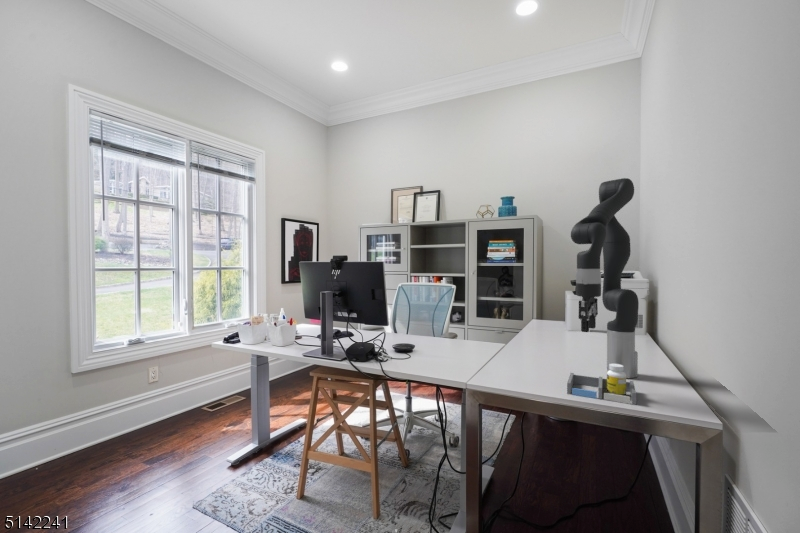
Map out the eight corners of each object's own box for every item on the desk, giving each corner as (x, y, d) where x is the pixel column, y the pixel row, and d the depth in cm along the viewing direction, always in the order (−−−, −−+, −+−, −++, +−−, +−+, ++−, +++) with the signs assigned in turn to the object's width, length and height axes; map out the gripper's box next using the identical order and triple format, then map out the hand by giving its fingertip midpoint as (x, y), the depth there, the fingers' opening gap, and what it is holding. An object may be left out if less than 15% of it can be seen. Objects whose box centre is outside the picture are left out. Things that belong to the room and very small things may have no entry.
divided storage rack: (633, 391, 120) (633, 381, 120) (636, 404, 109) (636, 393, 109) (570, 382, 130) (570, 372, 130) (567, 393, 118) (567, 382, 118)
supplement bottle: (603, 392, 120) (603, 363, 120) (618, 392, 120) (618, 362, 120) (614, 398, 114) (614, 367, 114) (630, 397, 115) (630, 367, 115)
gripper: (582, 281, 130) (582, 326, 130) (570, 282, 119) (570, 331, 119) (605, 281, 125) (605, 328, 125) (595, 283, 114) (595, 334, 114)
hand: (588, 330), depth 122 cm, fingers open, 8 cm apart
